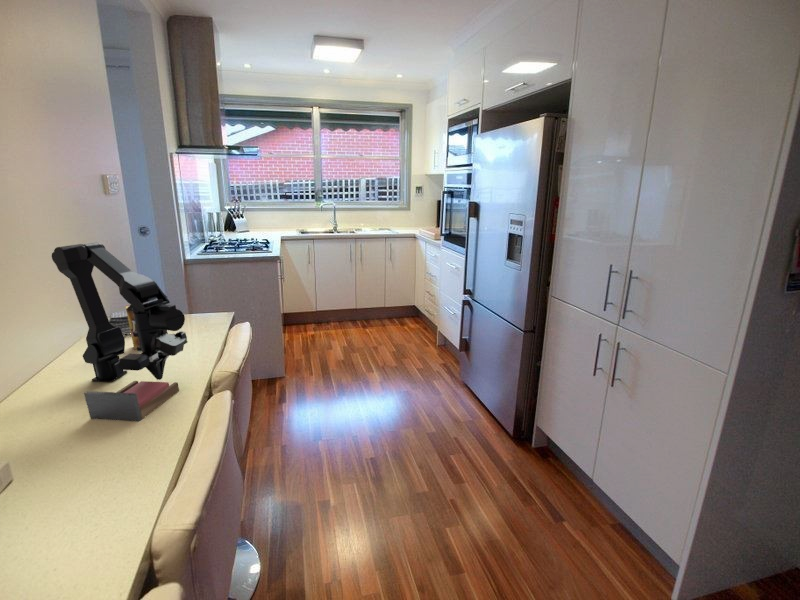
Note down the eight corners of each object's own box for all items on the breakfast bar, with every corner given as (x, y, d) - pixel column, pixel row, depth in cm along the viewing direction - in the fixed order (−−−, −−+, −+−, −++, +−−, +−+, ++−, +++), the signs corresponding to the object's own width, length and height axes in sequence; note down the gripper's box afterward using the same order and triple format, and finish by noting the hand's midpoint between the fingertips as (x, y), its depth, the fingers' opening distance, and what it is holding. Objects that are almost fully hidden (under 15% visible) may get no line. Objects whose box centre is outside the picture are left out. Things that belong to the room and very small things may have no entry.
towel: (165, 328, 163) (161, 309, 161) (109, 339, 153) (105, 319, 151) (160, 318, 175) (157, 301, 173) (109, 328, 165) (104, 309, 162)
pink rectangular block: (109, 418, 100) (105, 404, 99) (144, 394, 112) (141, 381, 110) (138, 420, 99) (135, 405, 98) (171, 395, 111) (168, 382, 109)
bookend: (90, 418, 100) (83, 393, 98) (94, 416, 101) (87, 391, 99) (139, 421, 98) (133, 395, 96) (142, 419, 99) (136, 393, 97)
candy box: (134, 350, 141) (125, 308, 137) (134, 346, 144) (125, 305, 140) (163, 344, 146) (155, 303, 141) (162, 340, 149) (154, 300, 145)
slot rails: (94, 416, 101) (92, 407, 100) (136, 388, 114) (134, 380, 113) (142, 419, 99) (140, 409, 98) (179, 390, 112) (177, 382, 112)
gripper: (150, 340, 100) (162, 397, 104) (197, 316, 117) (205, 365, 122) (110, 339, 101) (123, 395, 106) (162, 315, 119) (172, 364, 123)
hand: (159, 379), depth 114 cm, fingers closed
